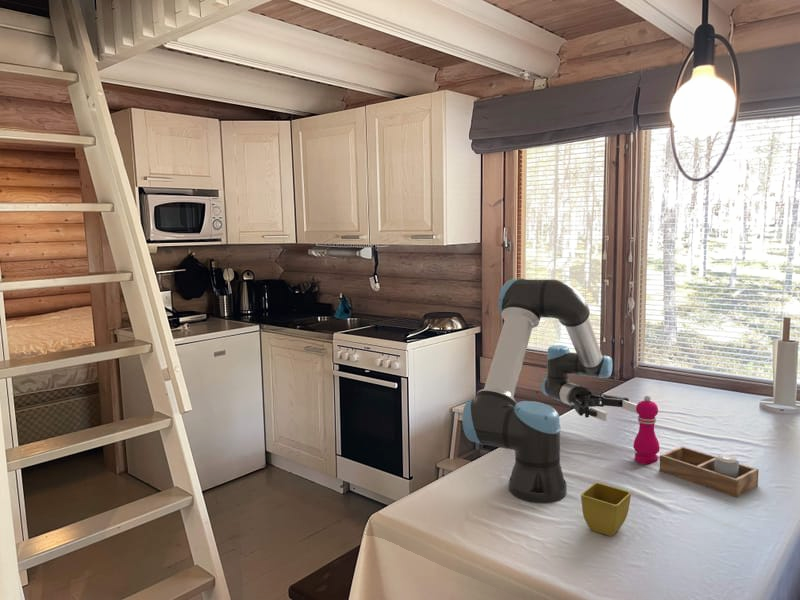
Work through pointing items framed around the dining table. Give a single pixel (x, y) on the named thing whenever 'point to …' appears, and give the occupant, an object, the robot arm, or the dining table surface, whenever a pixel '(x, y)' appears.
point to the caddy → (707, 471)
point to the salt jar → (727, 466)
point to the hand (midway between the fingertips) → (622, 413)
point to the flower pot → (605, 508)
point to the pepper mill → (646, 433)
